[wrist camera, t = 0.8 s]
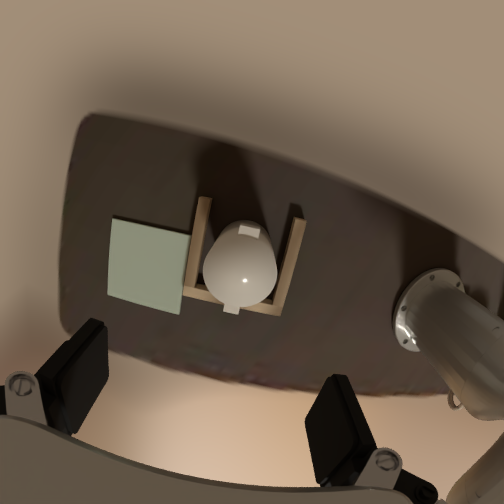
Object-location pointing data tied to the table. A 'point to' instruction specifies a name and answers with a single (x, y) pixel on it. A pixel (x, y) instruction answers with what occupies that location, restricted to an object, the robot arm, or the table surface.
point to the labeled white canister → (240, 266)
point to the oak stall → (195, 255)
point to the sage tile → (147, 265)
